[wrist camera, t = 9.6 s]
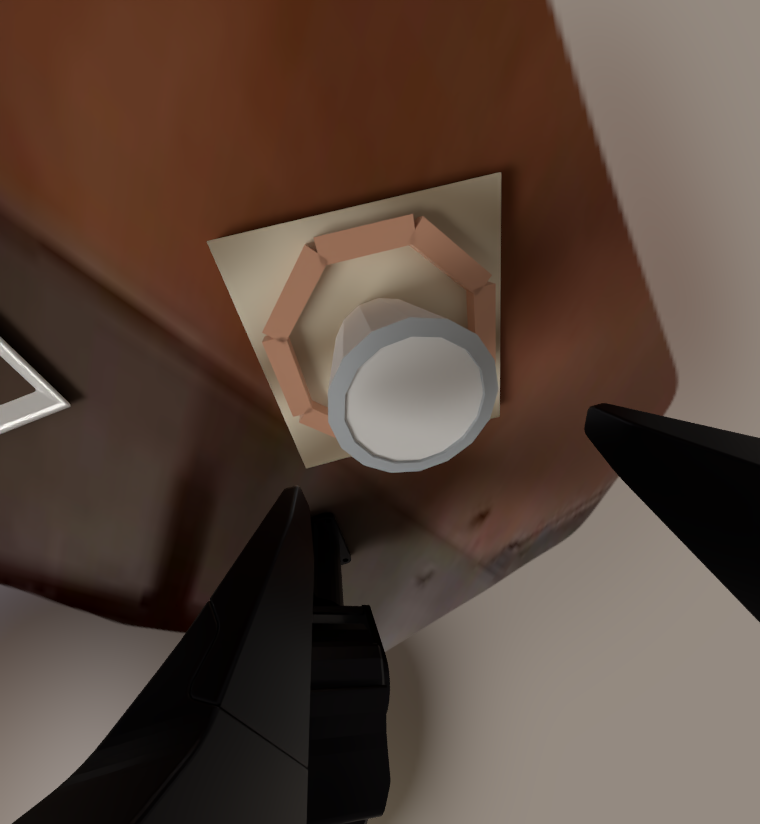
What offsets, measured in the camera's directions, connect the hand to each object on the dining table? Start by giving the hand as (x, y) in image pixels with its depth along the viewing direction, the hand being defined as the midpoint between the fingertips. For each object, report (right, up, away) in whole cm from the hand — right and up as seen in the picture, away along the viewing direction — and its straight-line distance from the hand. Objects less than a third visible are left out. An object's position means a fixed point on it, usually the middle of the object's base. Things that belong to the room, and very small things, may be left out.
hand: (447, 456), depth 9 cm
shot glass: (-2, +5, +9) cm, 10 cm away
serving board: (-2, +6, +10) cm, 11 cm away
